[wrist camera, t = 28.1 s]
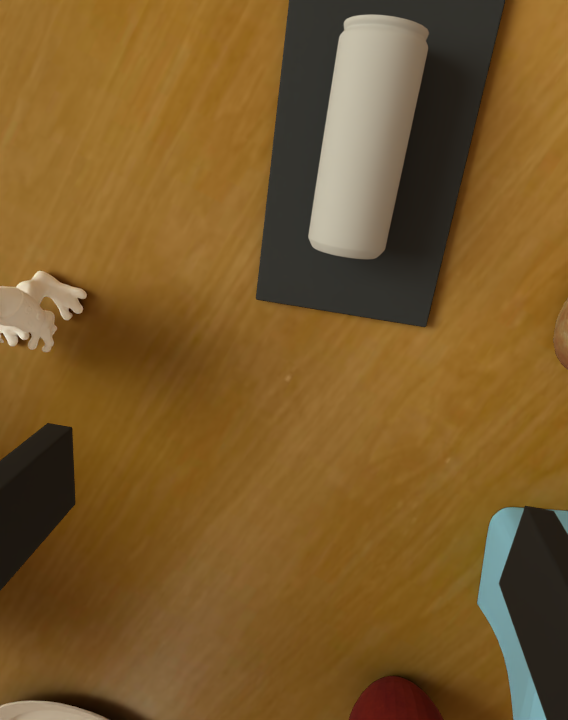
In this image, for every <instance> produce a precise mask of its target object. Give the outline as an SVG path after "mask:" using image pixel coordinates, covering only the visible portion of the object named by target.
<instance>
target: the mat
mask: <svg viewBox="0 0 568 720" xmlns="http://www.w3.org/2000/svg"><path fill="white" fill-rule="evenodd" d="M504 4H505V0H289V8H288V16H287V25H286V34H285V43H284V52H283V61H282V70H281V79H280V88H279V97H278V106H277V115H276V124H275V132H274V141H273V150H272V159H271V168H270V177H269V186H268V195H267V204H266V213H265V222H264V231H263V240H262V249H261V257H260V266H259V275H258V284H257V293H256V299H257V300H263V301H269V302H275V303H281V304H287V305H293V306H299V307H305V308H311V309H317V310H324V311H330V312H336V313H342V314H348V315H354V316H360V317H366V318H372V319H378V320H384V321H391V322H397V323H403V324H409V325H415V326H421V327H426V325H427V321H428V317H429V312H430V308H431V304H432V300H433V296H434V292H435V288H436V284H437V280H438V275H439V271H440V267H441V263H442V259H443V255H444V251H445V247H446V242H447V238H448V234H449V230H450V226H451V222H452V218H453V214H454V210H455V205H456V201H457V197H458V193H459V189H460V185H461V181H462V177H463V172H464V168H465V164H466V160H467V156H468V152H469V148H470V144H471V139H472V135H473V131H474V127H475V123H476V119H477V115H478V111H479V107H480V102H481V98H482V94H483V90H484V86H485V82H486V78H487V74H488V69H489V65H490V61H491V57H492V53H493V49H494V45H495V41H496V37H497V32H498V28H499V24H500V20H501V16H502V12H503V8H504ZM358 15H386V16H393V17H399V18H403V19H407V20H410V21H414V22H416V23H418V24H421V25H423V26H424V27H425V28H427V29H428V32H429V35H428V37H427V39H426V42H427V45H428V52H427V57H426V61H425V66H424V71H423V75H422V80H421V85H420V89H419V94H418V98H417V103H416V108H415V112H414V117H413V122H412V126H411V131H410V136H409V140H408V145H407V150H406V154H405V159H404V164H403V168H402V173H401V178H400V182H399V187H398V191H397V196H396V201H395V205H394V210H393V215H392V219H391V224H390V229H389V233H388V238H387V243H386V247H385V250H384V251H383V252H382V253H381V254H380V255H379V256H378V257H377V258H375V259H355V258H347V257H341V256H336V255H331V254H328V253H324V252H321V251H319V250H316V249H315V248H313V247H312V245H311V243H310V240H309V238H308V235H309V228H310V222H311V215H312V208H313V202H314V195H315V188H316V182H317V175H318V169H319V162H320V156H321V150H322V143H323V137H324V130H325V124H326V118H327V111H328V105H329V99H330V92H331V86H332V80H333V73H334V67H335V60H336V54H337V48H338V41H339V37H340V35H341V33H342V32H343V31H344V21H345V20H346V19H347V18H350V17H352V16H358Z"/></svg>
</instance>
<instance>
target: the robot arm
mask: <svg viewBox="0 0 568 720" xmlns="http://www.w3.org/2000/svg"><path fill="white" fill-rule="evenodd" d="M74 505H75V483H74V460H73V437H72V427H67V426H62V425H56V424H50V423H47V424H46V425H45V426H44V427H42V428H41V429H40V430H38V431H37V432H36V433H35V434H33V435H32V436H31V437H30V438H28V439H27V440H26V441H25V442H23V443H22V444H21V445H20V446H18V447H17V448H16V449H14V450H13V451H12V452H11V453H9V454H8V455H7V456H6V457H4V458H3V459H2V460H1V461H0V590H1V589H2V588H3V587H4V586H5V585H6V584H7V582H8V581H9V580H10V579H11V578H12V577H13V575H14V574H15V573H16V572H17V571H18V570H19V569H20V567H21V566H22V565H23V564H24V563H25V562H26V560H27V559H28V558H29V557H30V556H31V555H32V554H33V552H34V551H35V550H36V549H37V548H38V547H39V545H40V544H41V543H42V542H43V541H44V540H45V538H46V537H47V536H48V535H49V534H50V533H51V532H52V530H53V529H54V528H55V527H56V526H57V525H58V523H59V522H60V521H61V520H62V519H63V518H64V517H65V515H66V514H67V513H68V512H69V511H70V510H71V508H72V507H73V506H74ZM499 586H500V589H501V592H502V594H503V597H504V600H505V603H506V606H507V609H508V612H509V614H510V617H511V620H512V623H513V626H514V629H515V632H516V634H517V637H518V640H519V643H520V646H521V649H522V651H523V654H524V657H525V660H526V663H527V666H528V669H529V671H530V674H531V677H532V680H533V683H534V686H535V688H536V691H537V694H538V697H539V700H540V703H541V706H542V708H543V711H544V714H545V717H546V720H568V534H567V532H566V530H565V529H564V527H563V525H562V524H561V522H560V520H559V519H558V517H557V515H556V514H555V512H554V511H552V510H546V509H540V508H534V507H529V506H525V508H524V511H523V514H522V516H521V519H520V522H519V525H518V528H517V531H516V534H515V537H514V540H513V543H512V546H511V549H510V551H509V554H508V557H507V560H506V563H505V566H504V569H503V572H502V575H501V578H500V581H499Z"/></svg>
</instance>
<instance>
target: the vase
mask: <svg viewBox="0 0 568 720" xmlns="http://www.w3.org/2000/svg"><path fill="white" fill-rule="evenodd" d="M546 510H548V509H546ZM523 511H524V508H519V507H507V508H503V509H501V510H500V511H498V512H497V513H496V514H495V515H494V516H493V517H492V519H491V521H490V524H489V528H488V534H487V540H486V547H485V553H484V560H483V567H482V574H481V581H480V587H479V594H478V601H477V604H478V605H479V607H480V609H481V610H482V612H483V613H484V615H485V616H486V618H487V620H488V622H489V623H490V625H491V627H492V629H493V631H494V633H495V635H496V637H497V639H498V642H499V644H500V647H501V650H502V652H503V655H504V659H505V664H506V668H507V672H508V678H509V684H510V691H511V700H512V709H513V720H546V717H545V714H544V711H543V708H542V706H541V703H540V700H539V697H538V694H537V691H536V688H535V686H534V683H533V680H532V677H531V674H530V671H529V669H528V666H527V663H526V660H525V657H524V654H523V651H522V649H521V646H520V643H519V640H518V637H517V634H516V632H515V629H514V626H513V623H512V620H511V617H510V614H509V612H508V609H507V606H506V603H505V600H504V597H503V594H502V592H501V589H500V586H499V581H500V578H501V575H502V572H503V569H504V566H505V563H506V560H507V557H508V554H509V551H510V549H511V546H512V543H513V540H514V537H515V534H516V531H517V528H518V525H519V522H520V519H521V516H522V514H523ZM552 511H554V512H555V514H556V515H557V517H558V519H559V520H560V522H561V524H562V525H563V527H564V529H565V530H566V532H567V534H568V511H562V510H552Z"/></svg>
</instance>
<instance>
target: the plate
mask: <svg viewBox="0 0 568 720" xmlns="http://www.w3.org/2000/svg"><path fill="white" fill-rule="evenodd" d="M0 720H109V719H107V718H106V717H103V716H101V715H99V714H96V713H94V712H91V711H88V710H85V709H81V708H78V707H74V706H70V705H66V704H62V703H55V702H48V701H18V702H12V703H7V704H4V705H1V706H0Z"/></svg>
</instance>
